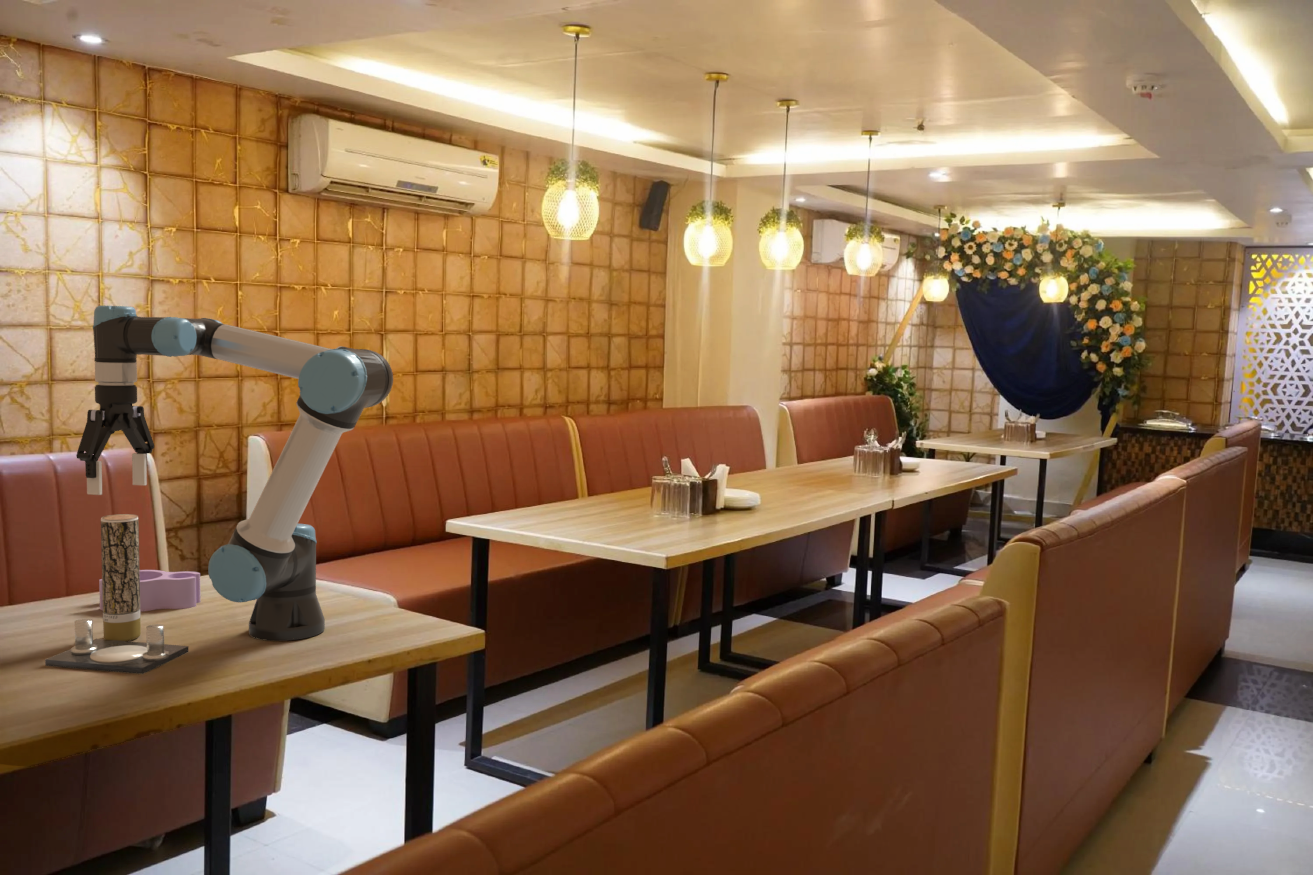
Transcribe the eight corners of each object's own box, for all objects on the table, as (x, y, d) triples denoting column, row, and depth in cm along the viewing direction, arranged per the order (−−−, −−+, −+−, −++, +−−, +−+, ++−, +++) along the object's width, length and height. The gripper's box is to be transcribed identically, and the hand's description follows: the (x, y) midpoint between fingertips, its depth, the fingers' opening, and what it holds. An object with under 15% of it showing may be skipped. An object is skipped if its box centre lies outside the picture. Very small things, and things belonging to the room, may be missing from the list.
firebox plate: (188, 652, 208) (188, 646, 208) (142, 674, 194) (142, 667, 194) (96, 644, 211) (96, 638, 211) (45, 665, 198) (45, 659, 198)
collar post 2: (173, 654, 202) (172, 624, 202) (159, 661, 198) (158, 630, 197) (152, 653, 203) (151, 622, 202) (137, 659, 199) (137, 628, 198)
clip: (205, 598, 250) (204, 569, 250) (191, 611, 238) (190, 581, 237) (114, 599, 247) (113, 570, 246) (95, 613, 235) (94, 582, 234)
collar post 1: (102, 649, 205) (101, 618, 204) (86, 655, 200) (85, 624, 200) (82, 647, 205) (81, 617, 205) (65, 653, 201) (65, 622, 200)
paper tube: (125, 644, 212) (122, 520, 210) (95, 641, 213) (92, 518, 211) (148, 635, 219) (145, 515, 216) (119, 632, 220) (116, 513, 218)
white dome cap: (160, 648, 206) (160, 647, 206) (126, 664, 196) (126, 662, 196) (113, 645, 207) (113, 643, 207) (77, 660, 198) (77, 658, 198)
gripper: (139, 380, 224) (140, 480, 226) (53, 385, 199) (56, 497, 201) (171, 382, 223) (173, 482, 225) (89, 387, 198) (91, 499, 200)
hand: (117, 489), depth 213 cm, fingers open, 13 cm apart
